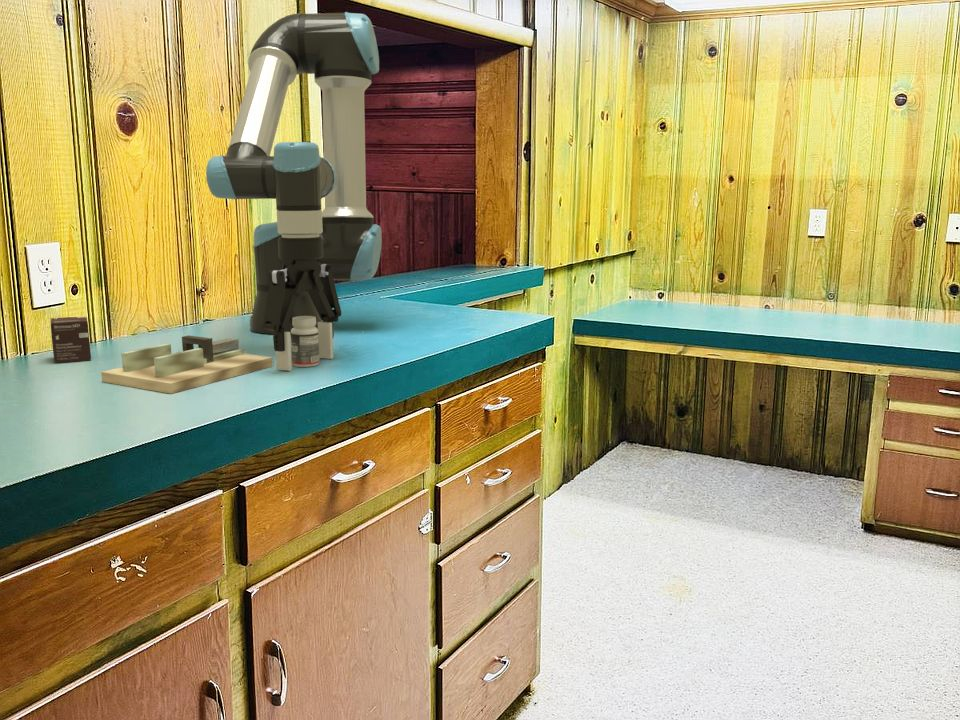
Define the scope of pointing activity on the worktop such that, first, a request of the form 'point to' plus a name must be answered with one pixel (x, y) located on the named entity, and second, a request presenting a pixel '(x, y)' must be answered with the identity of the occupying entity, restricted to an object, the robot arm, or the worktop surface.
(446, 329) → the worktop surface
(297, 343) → the pill bottle
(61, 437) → the worktop surface
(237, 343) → the pin
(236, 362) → the mount
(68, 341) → the box
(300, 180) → the robot arm
